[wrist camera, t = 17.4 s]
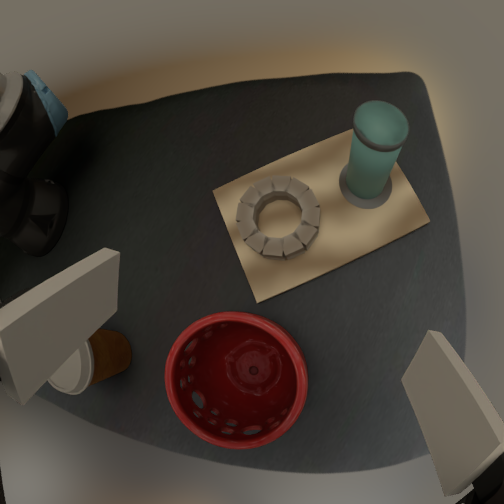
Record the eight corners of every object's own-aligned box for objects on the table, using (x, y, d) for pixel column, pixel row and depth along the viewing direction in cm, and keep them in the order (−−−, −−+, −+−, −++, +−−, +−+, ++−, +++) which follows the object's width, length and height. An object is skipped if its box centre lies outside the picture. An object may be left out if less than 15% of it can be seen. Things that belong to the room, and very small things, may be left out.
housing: (215, 193, 41) (204, 182, 37) (368, 126, 38) (371, 110, 34) (258, 303, 37) (251, 301, 33) (427, 223, 34) (438, 213, 30)
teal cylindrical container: (338, 169, 37) (343, 107, 24) (374, 158, 36) (391, 95, 23) (355, 205, 35) (370, 153, 23) (391, 192, 35) (419, 138, 22)
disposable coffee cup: (150, 372, 38) (95, 387, 27) (105, 388, 39) (50, 401, 28) (127, 311, 41) (69, 306, 29) (86, 331, 42) (29, 331, 30)
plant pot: (300, 421, 33) (290, 464, 21) (201, 399, 36) (155, 427, 24) (320, 320, 35) (320, 325, 23) (216, 303, 38) (172, 298, 27)
